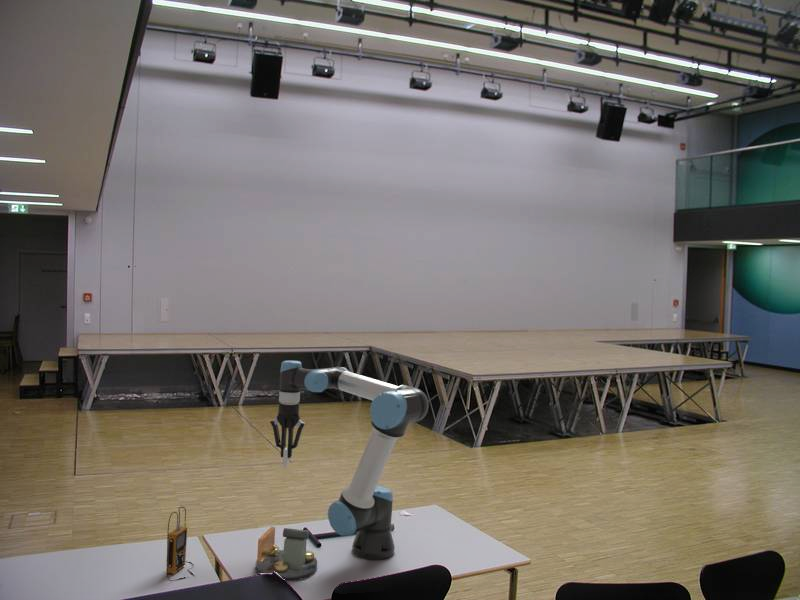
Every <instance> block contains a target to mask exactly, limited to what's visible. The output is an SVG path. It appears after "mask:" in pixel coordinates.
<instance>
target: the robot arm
mask: <svg viewBox="0 0 800 600" xmlns="http://www.w3.org/2000/svg"><path fill="white" fill-rule="evenodd" d="M279 373H280V374H279V375H280V376H279V393H278V402H279V403H278V411H277V416H276V418H275V419H272V420H271V421H270V424H271V427H272V430H273V436H274V441H275V442H274V443H275V446H276V448H280V457H281V458H282V468H287V467H289V463H290V459H291V457H293V456H292V455H293V454H292V453H293V449H296V448H297V447H298V445H299V442H300V439H301V434H302V432H303V429H304V427H305V426H306V422H305V421H304V422H303V421H302V420H301V418H300V404H299V403H300V399H301V398H300V397H301V390H304V391H309V392H311V393H323V392H324V391H325V390H327V389H335V390H339V391H342V392H345V393H348V394H351V395H354V396H357V397H360V398H363V399H367V400H369V401H371V404H370V409H369V413H370V419H371V421H370V426H372V430H371V433H370V435H369V437H368V440H367V443H366V445H365V448H364V450H363V452H362V455H361V457H360V459H359V462H358V464H357V466H356V469H355V472H354V474H353V477H352V479H351V481H350V484H349V486H345V487H344V488H343V489H342V491H341V493H340V496H339V498H338V499H337V500H336V501H333V502H332V503H331V504H330V505H329V506H328V510H327V519H328V521H329V525H330V527H331V528H332V530H333V531H334V532H335V533H336V534H338V535H340V536H343V537H344V536H345V537H347V536H349V535H353V534H355V536H354V539H353V541H352V546H351V547H352V549H351V550H352V551H351V552H352V554H353V555H355V556H357V557H359V558H362V559H364V560H365V559H366V560H385V559H388V558H390V557H392V556H394V554H395V541H394V539H393V535H392V529H391V528H392V519H393V517H392V516H393V515H392V514H393V502H394V499H393V497H394V496H393V495H394V494H393V492H392V490H391V489H389V488H388V487H387V488H386V487H384V486H379V485H378V484H379V482H380V480H381V477H382V475H383V472H384V470H385V468H386V466H387V464H388V461H389V459H390V457H391V453H392V451H393V449H394V447H395V444H396V442H397V441H398V439H401V438H403V437H404V436H405V433H406V431H407V428H408V426H409V425H410V424H414V423H417V422H419V421H422V420H423V419H424V418H425V417H426V415H427V413H428V412H429V411H428V410H429V400H428V397H427V395H426V394H425V392H423V391H422V390H421V389H419V388H417V387H414V386H409V385H406V384H401V385H399V386H398V385H395V384H392V383H388V382H386V381H381V380H379V379H375V378H372V377H369V376H365V375H361V374H359V373H354V372H351V371H349V370H348V369H347V368H346V367H343V366H334V367H326V368H314V369H313V368H312V369H308V368H303V367H302V362H301V361H300V360H284V361H282V362H281V366H280V372H279ZM278 424H279V425H278ZM279 426H280V427H281V429H280V430H281V435H280V430H279ZM296 426H298V428H297V430H296V434H295V437H294V430H295V427H296ZM287 431H288V433H287ZM287 434H288V436H287Z"/></svg>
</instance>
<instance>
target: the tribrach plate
mask: <svg viewBox="0 0 800 600" xmlns="http://www.w3.org/2000/svg"><path fill="white" fill-rule="evenodd" d="M283 556H284V549H279V555H278V556H276V557H268V556H267V557H266V558H265V559H264V560H263V561H262V562H257V560H256V561H255V571H256V570H257V571H256V572H257V573H258V572H259V573H273V572H274V571H275V572H277V573H278V574H279V575H280V576H281V577H282V578H283V579H285V580H286V581H289V582H290V581H297V580H298V581H299V580H304V579H307V578H309V577H311V576H313V575H314V574H315V573H316V572H317V569H318V560H317V558H316V557H315V552H313V551H310V550H306V560H305V564H304V565H303V567H302V569H301V570H300V569H290V568H288V563H287V562H283ZM259 573H258V574H259ZM286 581H285V582H286Z"/></svg>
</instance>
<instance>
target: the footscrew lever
mask: <svg viewBox="0 0 800 600" xmlns="http://www.w3.org/2000/svg"><path fill="white" fill-rule="evenodd" d="M275 536H276V527H275V526H270V527H269V528H268V529H267V530H266V531H265V532H264V533H263V534H262V535H261V536H260V537H259V538H258V539H257V553H256V554H257V555H256V556H257V557H256V558H257V559H256V561H257V562H262V561H263V560H264V559H265V558H266V557H267V556H268V557H276V556H278V555H279V550H280V548H279V546H277V544H275V539H276V538H275Z"/></svg>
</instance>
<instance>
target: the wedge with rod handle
mask: <svg viewBox="0 0 800 600" xmlns="http://www.w3.org/2000/svg"><path fill="white" fill-rule="evenodd" d="M309 535H310V531H309V530H308V529H307V530H306V529H297V528H289V527H288V528H287V527H286V528H285V527H284V528H283V531H282V537H283V538H285V539H284V541H283V550H284V556H283V562H287V563H288V568H290V569H300V570H301V569H302V567H303V565H304V564H305V560H306V551H307V542H308V539H309Z"/></svg>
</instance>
